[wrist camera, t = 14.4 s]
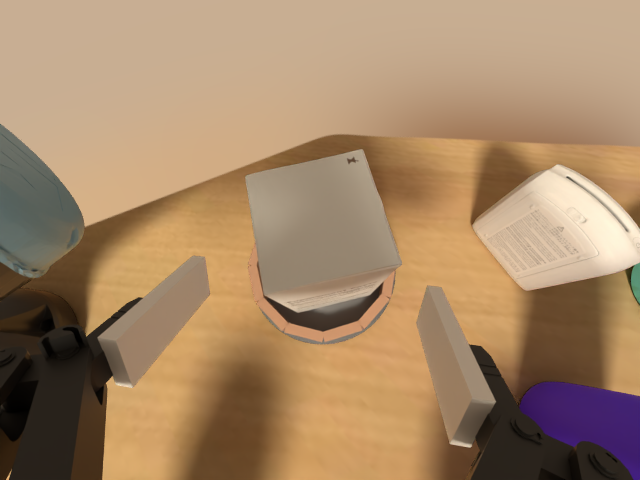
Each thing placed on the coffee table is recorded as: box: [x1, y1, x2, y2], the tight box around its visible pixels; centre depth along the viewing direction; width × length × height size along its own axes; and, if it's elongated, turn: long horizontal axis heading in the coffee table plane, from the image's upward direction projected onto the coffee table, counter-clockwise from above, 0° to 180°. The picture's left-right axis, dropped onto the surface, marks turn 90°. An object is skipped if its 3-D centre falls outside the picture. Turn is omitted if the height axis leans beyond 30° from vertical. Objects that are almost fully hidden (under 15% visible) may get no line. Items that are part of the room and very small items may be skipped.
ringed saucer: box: [248, 244, 395, 344], centre depth 31 cm, size 17×17×3 cm
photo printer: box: [472, 164, 640, 291], centre depth 26 cm, size 10×4×12 cm, turn 30°
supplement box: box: [245, 149, 402, 313], centre depth 24 cm, size 9×9×15 cm
